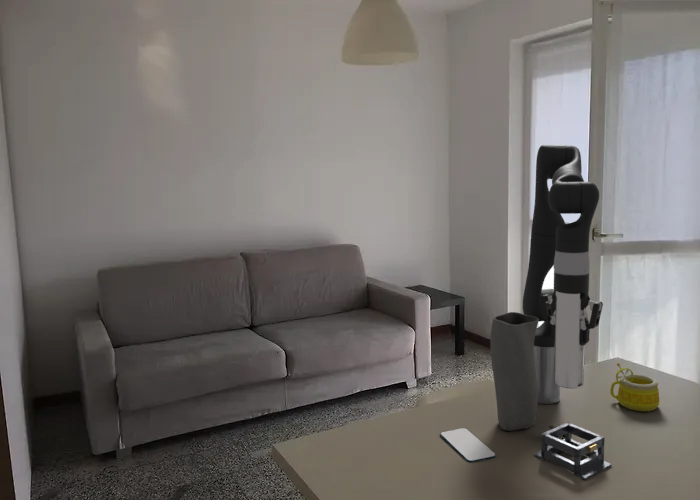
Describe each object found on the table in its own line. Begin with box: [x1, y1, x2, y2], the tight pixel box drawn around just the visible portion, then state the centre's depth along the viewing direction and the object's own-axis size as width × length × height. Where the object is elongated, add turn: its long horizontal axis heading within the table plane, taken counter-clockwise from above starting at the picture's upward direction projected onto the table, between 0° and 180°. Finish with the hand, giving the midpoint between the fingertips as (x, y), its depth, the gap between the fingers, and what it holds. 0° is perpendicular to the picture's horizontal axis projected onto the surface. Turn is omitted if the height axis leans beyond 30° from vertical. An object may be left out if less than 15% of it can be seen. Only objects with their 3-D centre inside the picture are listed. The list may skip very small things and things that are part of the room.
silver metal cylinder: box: [554, 291, 586, 389], centre depth 137 cm, size 6×6×25 cm
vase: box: [489, 311, 540, 432], centre depth 159 cm, size 12×12×30 cm
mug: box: [609, 362, 660, 412], centre depth 170 cm, size 13×11×12 cm
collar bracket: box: [533, 422, 613, 481], centre depth 141 cm, size 14×10×6 cm
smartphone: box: [439, 427, 497, 463], centre depth 151 cm, size 8×1×16 cm
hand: (569, 341), depth 137 cm, fingers closed on silver metal cylinder, 5 cm apart
